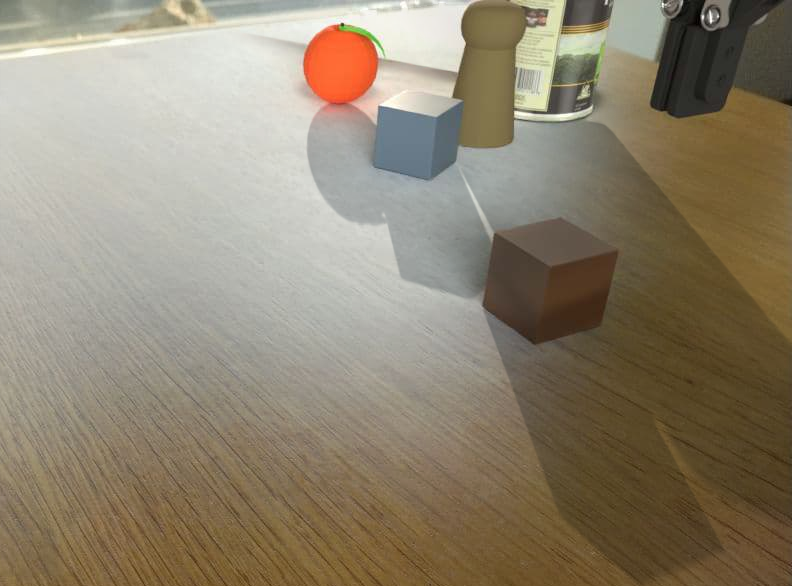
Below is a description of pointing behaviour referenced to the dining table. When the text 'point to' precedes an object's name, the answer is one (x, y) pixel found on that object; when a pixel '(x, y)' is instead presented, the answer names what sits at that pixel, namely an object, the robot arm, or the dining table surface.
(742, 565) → the dining table surface
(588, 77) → the coffee can
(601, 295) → the copper block
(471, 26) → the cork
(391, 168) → the slate block
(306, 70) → the clementine
